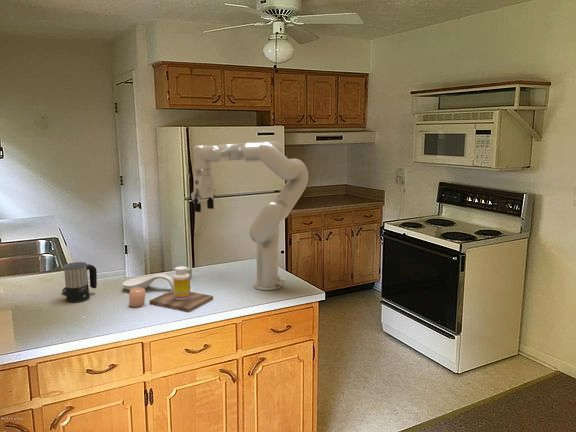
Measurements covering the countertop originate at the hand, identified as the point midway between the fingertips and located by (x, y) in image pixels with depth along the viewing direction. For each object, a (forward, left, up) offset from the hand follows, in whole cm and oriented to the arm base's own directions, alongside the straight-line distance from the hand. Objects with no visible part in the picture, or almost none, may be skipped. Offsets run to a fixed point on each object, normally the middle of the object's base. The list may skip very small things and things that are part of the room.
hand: (204, 210), depth 222 cm
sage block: (+10, +3, -33) cm, 35 cm away
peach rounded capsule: (+6, +39, -33) cm, 51 cm away
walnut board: (-8, +28, -33) cm, 44 cm away
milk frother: (+37, +43, -34) cm, 66 cm away
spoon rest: (+14, +22, -34) cm, 43 cm away
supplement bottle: (-8, +28, -32) cm, 43 cm away
